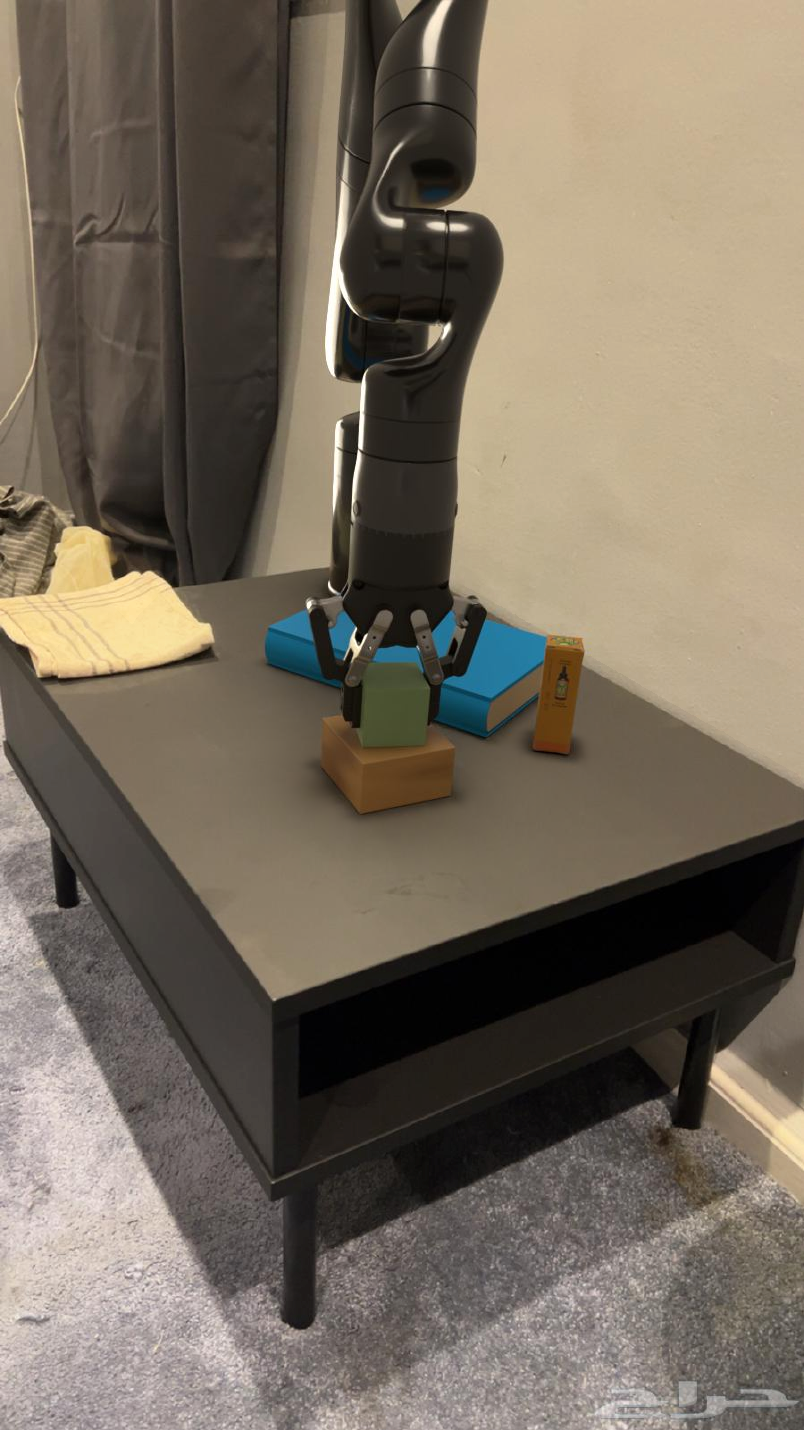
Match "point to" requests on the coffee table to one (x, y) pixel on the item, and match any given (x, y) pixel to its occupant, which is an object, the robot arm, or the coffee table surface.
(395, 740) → the green block
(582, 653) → the supplement box
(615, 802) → the coffee table surface
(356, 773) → the oak block
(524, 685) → the book
